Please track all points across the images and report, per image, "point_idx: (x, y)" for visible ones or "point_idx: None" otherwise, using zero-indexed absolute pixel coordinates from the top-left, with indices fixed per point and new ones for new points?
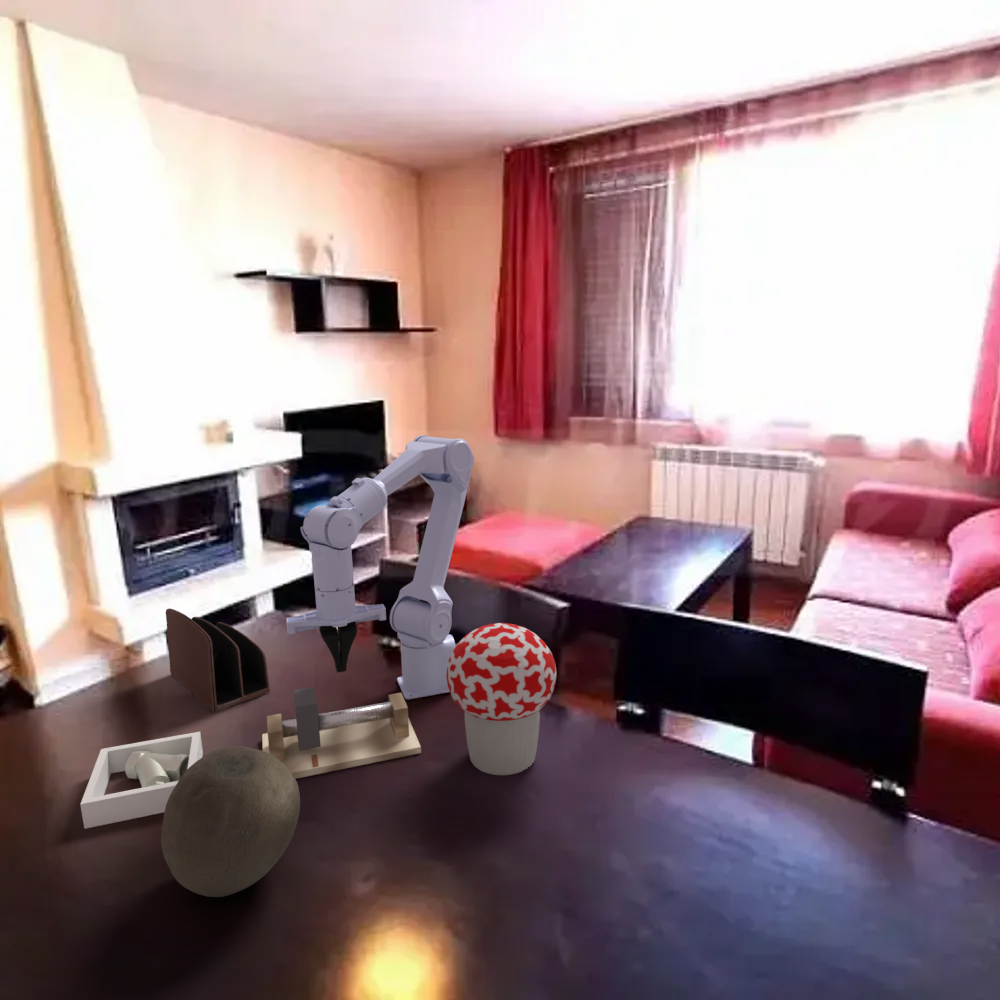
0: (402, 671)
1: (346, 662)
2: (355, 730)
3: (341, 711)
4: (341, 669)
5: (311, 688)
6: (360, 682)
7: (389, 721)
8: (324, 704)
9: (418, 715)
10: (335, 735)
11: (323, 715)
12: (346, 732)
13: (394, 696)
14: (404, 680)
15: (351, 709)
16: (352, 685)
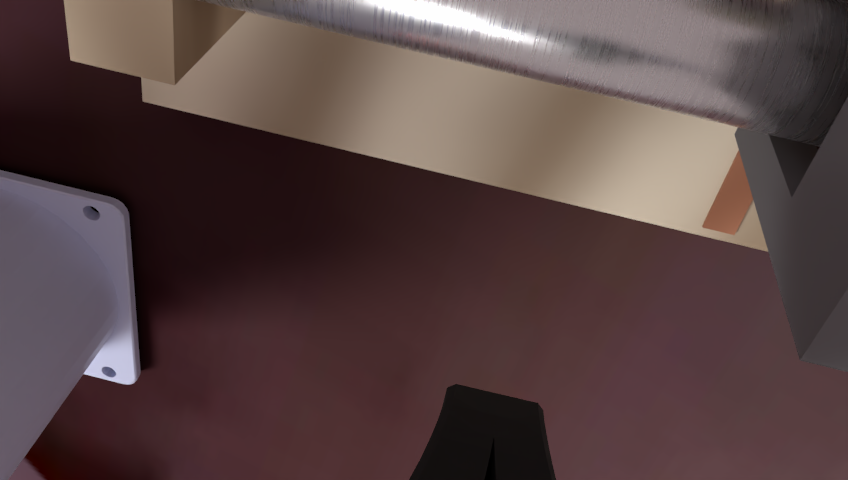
0: (70, 366)
1: (430, 454)
2: None
3: (619, 47)
4: (497, 413)
5: (840, 350)
6: (307, 445)
7: None
8: (525, 386)
9: None
10: None
11: (786, 74)
12: None
13: (131, 30)
14: (86, 315)
15: (529, 29)
16: (348, 444)
